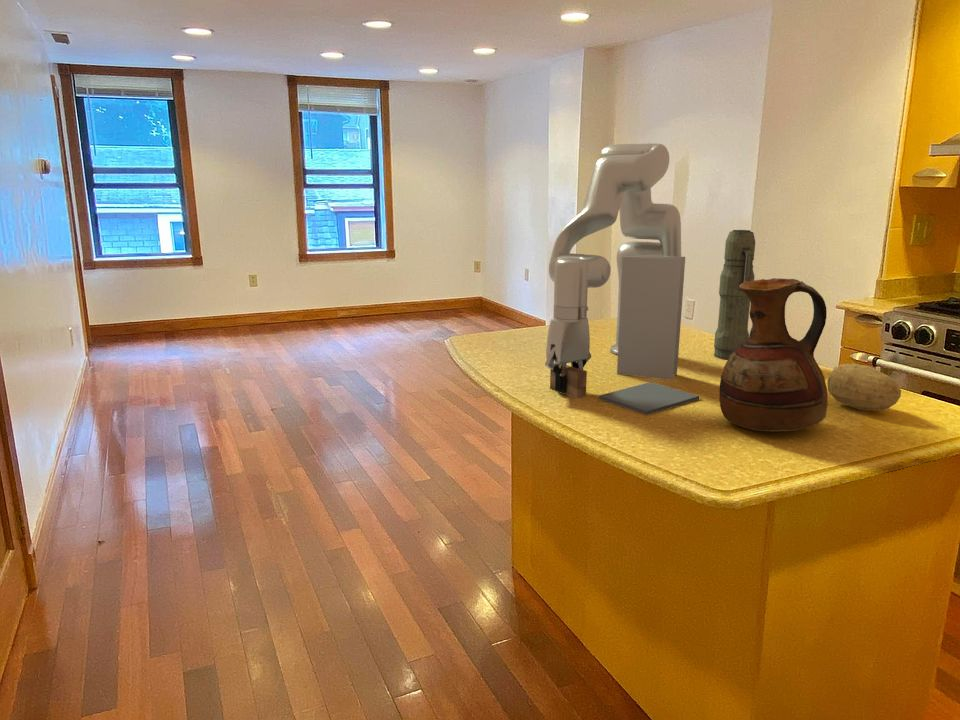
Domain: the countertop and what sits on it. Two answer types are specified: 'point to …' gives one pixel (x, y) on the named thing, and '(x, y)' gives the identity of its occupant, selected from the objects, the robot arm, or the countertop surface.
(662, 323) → the thin beige panel
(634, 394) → the mat
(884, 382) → the potato
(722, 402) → the ceramic pitcher
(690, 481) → the countertop surface
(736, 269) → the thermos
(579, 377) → the brown angular block
